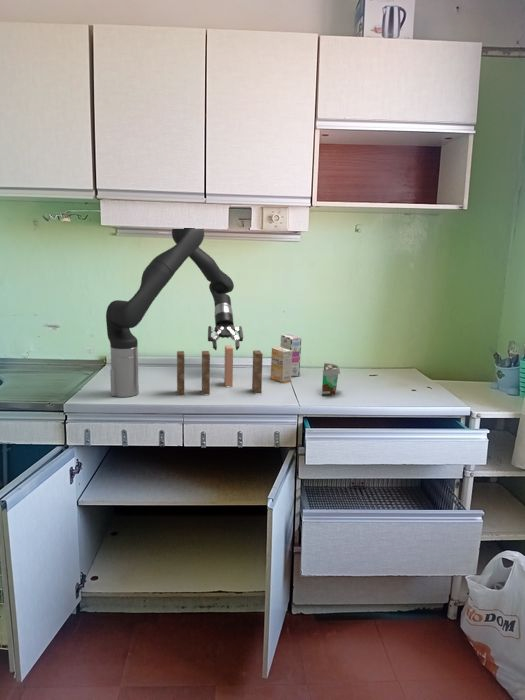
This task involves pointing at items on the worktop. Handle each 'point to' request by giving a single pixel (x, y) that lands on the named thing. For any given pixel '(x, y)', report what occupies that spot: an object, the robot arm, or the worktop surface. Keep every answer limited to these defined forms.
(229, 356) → the terracotta tile
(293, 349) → the candy bar box
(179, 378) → the near walnut tile
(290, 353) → the supplement box
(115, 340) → the robot arm
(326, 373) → the food container
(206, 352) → the middle walnut tile
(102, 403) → the worktop surface
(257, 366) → the wood grain beam
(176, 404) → the worktop surface
